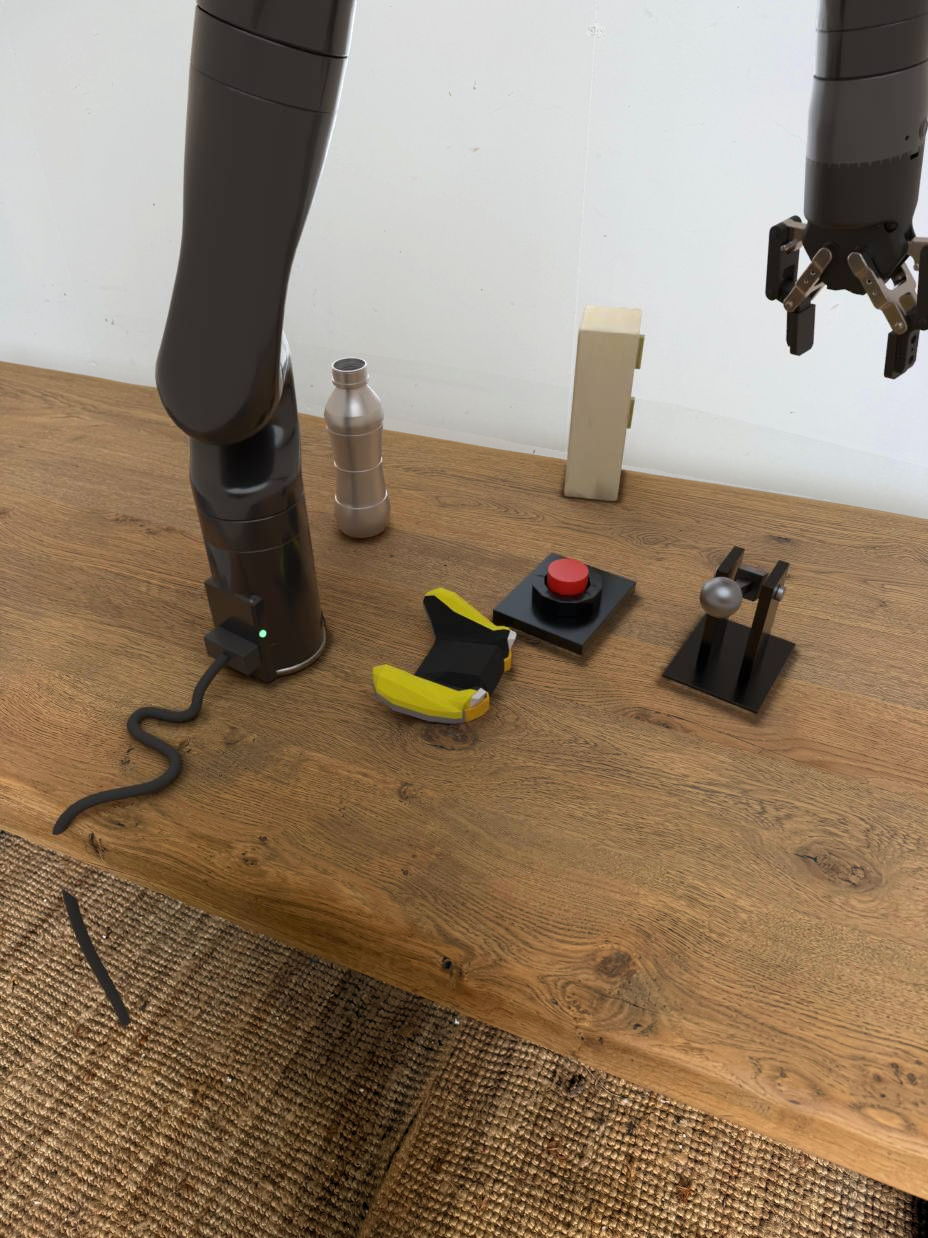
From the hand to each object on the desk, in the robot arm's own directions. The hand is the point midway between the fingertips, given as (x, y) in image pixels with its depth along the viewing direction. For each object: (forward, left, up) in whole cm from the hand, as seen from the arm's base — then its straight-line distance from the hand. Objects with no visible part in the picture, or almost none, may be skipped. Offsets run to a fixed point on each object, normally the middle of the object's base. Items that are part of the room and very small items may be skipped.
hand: (846, 362), depth 70 cm
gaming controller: (-25, +22, -28) cm, 43 cm away
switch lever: (-14, +2, -17) cm, 22 cm away
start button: (-10, +18, -24) cm, 32 cm away
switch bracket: (-9, +1, -27) cm, 29 cm away
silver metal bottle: (-9, +45, -28) cm, 54 cm away
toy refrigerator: (+15, +27, -28) cm, 42 cm away
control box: (-10, +18, -27) cm, 34 cm away
